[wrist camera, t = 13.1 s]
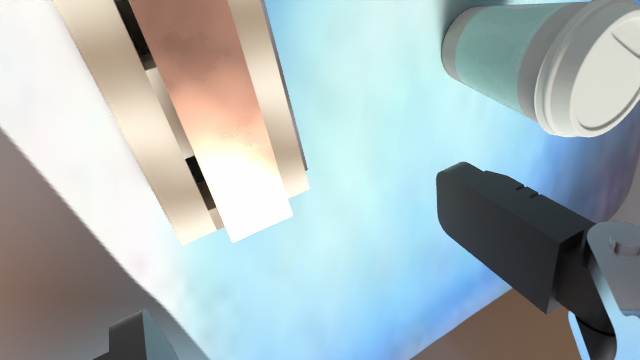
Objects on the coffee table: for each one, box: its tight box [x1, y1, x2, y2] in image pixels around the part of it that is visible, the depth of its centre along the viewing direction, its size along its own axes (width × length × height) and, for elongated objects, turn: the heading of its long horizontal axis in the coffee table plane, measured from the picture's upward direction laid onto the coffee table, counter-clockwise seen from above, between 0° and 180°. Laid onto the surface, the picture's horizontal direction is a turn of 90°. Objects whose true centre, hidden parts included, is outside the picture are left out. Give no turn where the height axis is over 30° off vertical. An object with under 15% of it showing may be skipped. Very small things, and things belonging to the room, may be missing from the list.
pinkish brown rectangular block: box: [128, 0, 292, 242], centre depth 22 cm, size 12×4×8 cm, turn 12°
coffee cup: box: [442, 0, 640, 137], centre depth 28 cm, size 8×8×12 cm
